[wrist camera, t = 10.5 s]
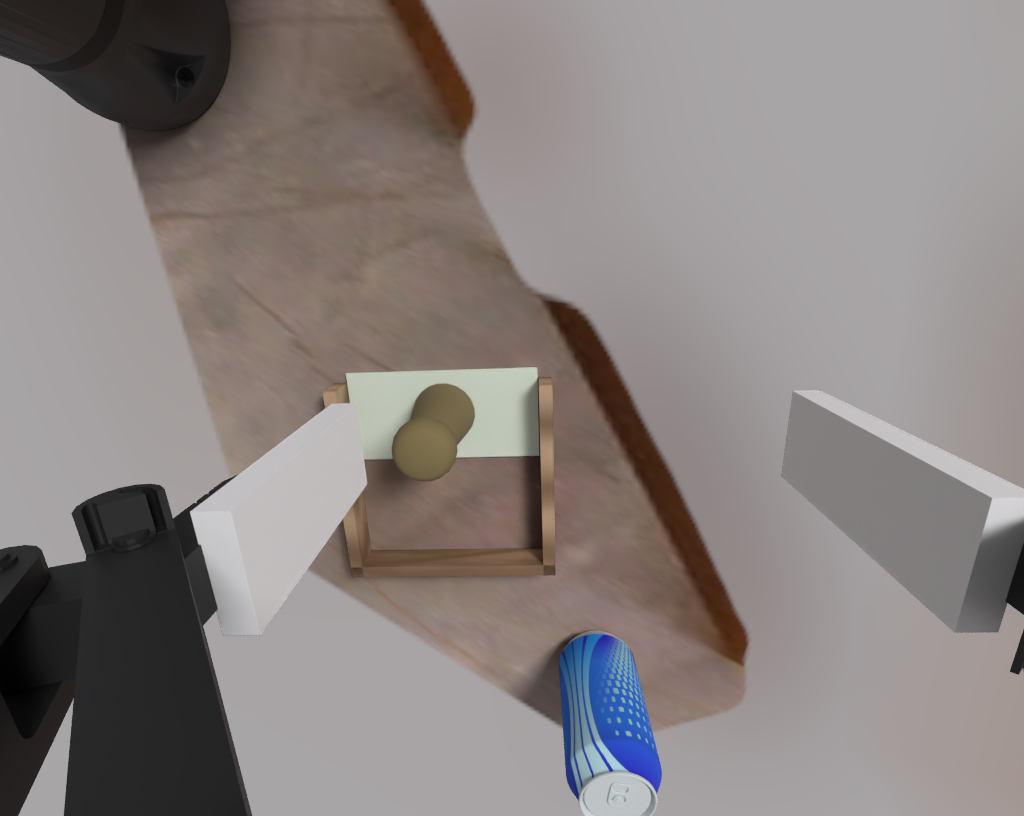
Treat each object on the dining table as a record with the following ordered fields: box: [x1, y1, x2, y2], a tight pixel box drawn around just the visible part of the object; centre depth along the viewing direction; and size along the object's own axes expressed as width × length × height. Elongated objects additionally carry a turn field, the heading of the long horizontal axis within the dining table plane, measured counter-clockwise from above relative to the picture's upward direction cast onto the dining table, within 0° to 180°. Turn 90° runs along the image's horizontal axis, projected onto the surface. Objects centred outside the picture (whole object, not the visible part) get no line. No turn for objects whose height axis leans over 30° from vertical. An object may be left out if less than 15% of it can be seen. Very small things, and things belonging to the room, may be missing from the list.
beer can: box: [559, 630, 662, 816], centre depth 49 cm, size 8×8×16 cm
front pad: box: [346, 367, 539, 460], centre depth 48 cm, size 9×18×1 cm, turn 92°
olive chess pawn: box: [392, 383, 475, 481], centre depth 43 cm, size 6×6×11 cm
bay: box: [322, 377, 555, 577], centre depth 49 cm, size 20×21×3 cm
